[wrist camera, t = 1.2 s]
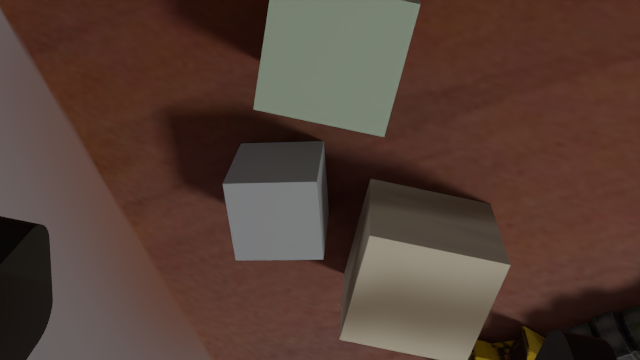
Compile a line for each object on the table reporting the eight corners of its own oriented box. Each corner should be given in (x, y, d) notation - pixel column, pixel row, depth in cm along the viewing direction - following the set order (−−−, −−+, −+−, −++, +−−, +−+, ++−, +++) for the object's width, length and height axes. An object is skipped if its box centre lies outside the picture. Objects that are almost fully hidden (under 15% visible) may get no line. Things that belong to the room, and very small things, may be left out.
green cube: (291, -50, 24) (273, -28, 20) (412, -24, 24) (420, 4, 20) (273, 66, 26) (253, 109, 22) (382, 89, 27) (384, 137, 22)
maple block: (370, 177, 29) (369, 235, 24) (490, 202, 29) (510, 265, 25) (344, 272, 32) (339, 339, 27) (452, 294, 32) (465, 365, 28)
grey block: (241, 142, 28) (222, 183, 25) (324, 140, 28) (316, 181, 24) (251, 213, 30) (235, 260, 27) (329, 211, 30) (323, 259, 26)
